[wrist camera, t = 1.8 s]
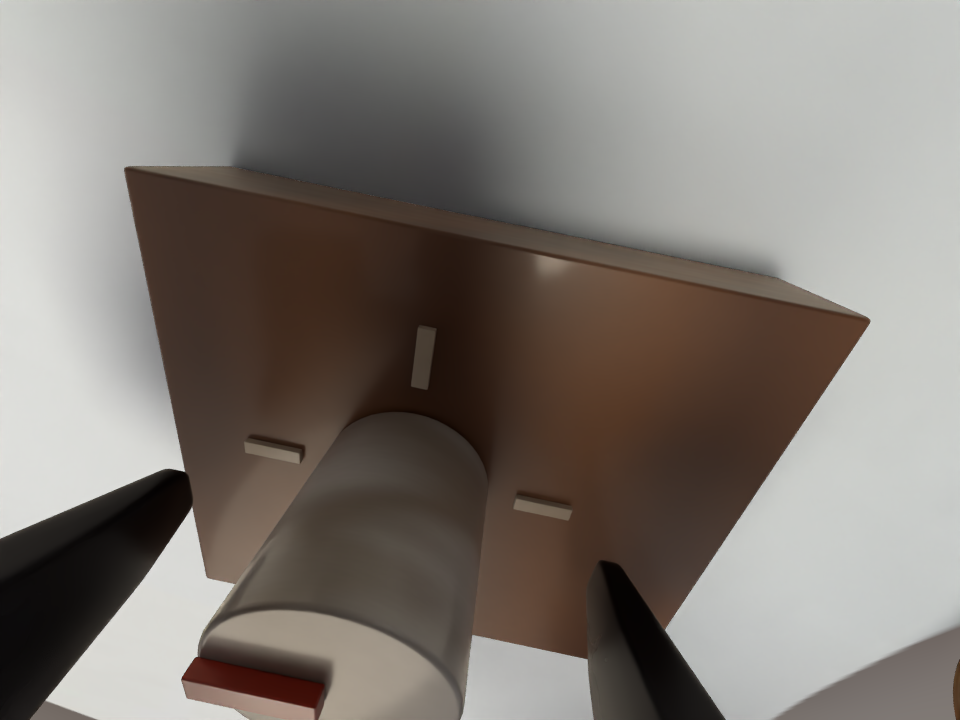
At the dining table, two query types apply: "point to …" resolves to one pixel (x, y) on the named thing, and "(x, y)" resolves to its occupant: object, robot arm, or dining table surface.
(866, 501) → the dining table surface
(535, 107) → the dining table surface
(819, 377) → the dial base block
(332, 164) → the dining table surface
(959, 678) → the tin
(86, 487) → the dining table surface
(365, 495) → the rotary dial knob
